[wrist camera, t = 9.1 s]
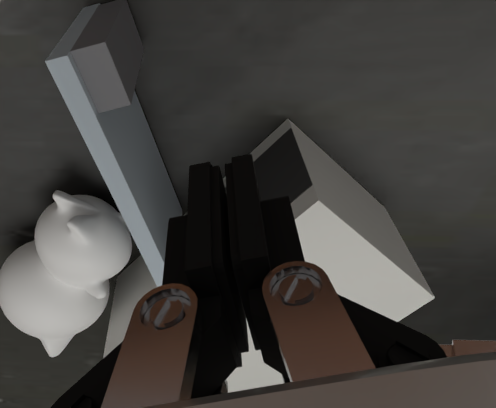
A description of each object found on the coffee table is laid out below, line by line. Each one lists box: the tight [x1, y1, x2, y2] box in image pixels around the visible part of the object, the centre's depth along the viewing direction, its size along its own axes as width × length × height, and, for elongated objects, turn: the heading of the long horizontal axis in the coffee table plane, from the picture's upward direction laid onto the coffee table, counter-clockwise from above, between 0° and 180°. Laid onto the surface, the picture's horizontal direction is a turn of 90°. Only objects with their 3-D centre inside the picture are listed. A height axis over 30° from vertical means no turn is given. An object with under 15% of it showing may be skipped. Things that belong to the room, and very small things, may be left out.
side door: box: [45, 0, 182, 287], centre depth 28 cm, size 16×3×9 cm, turn 13°
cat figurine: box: [0, 190, 132, 357], centre depth 36 cm, size 9×11×12 cm
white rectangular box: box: [103, 119, 435, 393], centre depth 36 cm, size 22×12×11 cm, turn 135°
